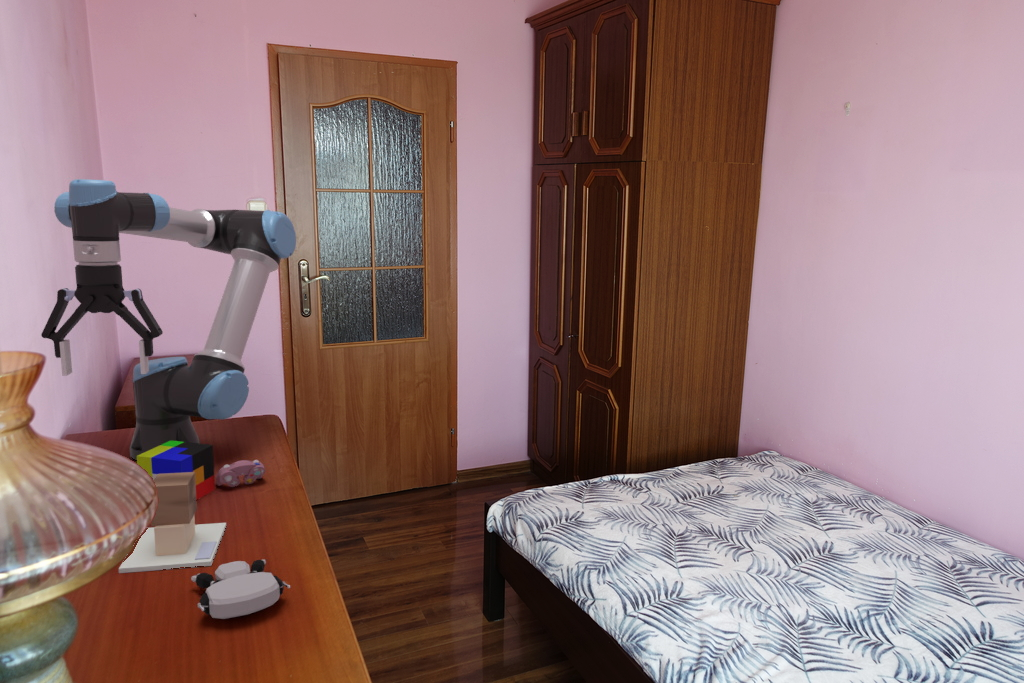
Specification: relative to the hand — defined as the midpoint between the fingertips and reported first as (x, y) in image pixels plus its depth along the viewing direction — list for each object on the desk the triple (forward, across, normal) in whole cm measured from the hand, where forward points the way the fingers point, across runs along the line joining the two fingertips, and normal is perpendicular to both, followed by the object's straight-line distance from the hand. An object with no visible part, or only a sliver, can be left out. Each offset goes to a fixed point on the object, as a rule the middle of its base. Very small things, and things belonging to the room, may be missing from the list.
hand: (106, 373), depth 133 cm
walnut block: (+21, +16, -22) cm, 34 cm away
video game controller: (+27, +23, +6) cm, 36 cm away
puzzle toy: (+27, +11, +2) cm, 29 cm away
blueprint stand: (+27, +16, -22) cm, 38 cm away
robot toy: (+27, +29, -41) cm, 57 cm away
